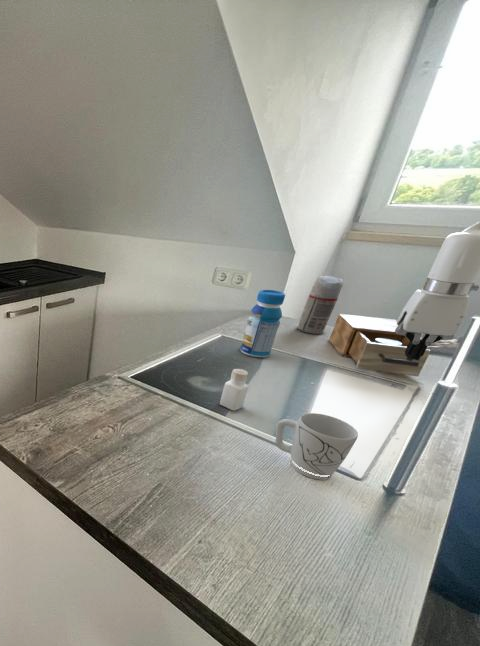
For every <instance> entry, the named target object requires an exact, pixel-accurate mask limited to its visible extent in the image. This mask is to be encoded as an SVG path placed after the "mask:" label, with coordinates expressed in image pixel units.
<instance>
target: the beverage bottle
mask: <svg viewBox="0 0 480 646" xmlns="http://www.w3.org/2000/svg"><path fill="white" fill-rule="evenodd" d="M285 297H286V293H285V292H283V291H280V290H274V289H260V290H259V291H258V293H257V297H256V302H257V303H256V304H255V305H254V306H253V307H252V309H251V310H250V316H249V317H248V318H247V321H246V322H247V323H246V327H245V332H244V336H243V339H242V342H241V345H240V352H241V353H243V354H244V355H246V356H249V357H253V358H268V357H269V356H270V354H271V352H272V348H273V345H274V342H275V338H276V335H277V332H278V329H279V327H280V326H281V321H280V320H281V319H282V317H283V312H282V309H281V306H282V305H283V304H284V301H285Z"/></svg>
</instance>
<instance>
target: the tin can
mask: <svg viewBox="0 0 480 646" xmlns="http://www.w3.org/2000/svg"><path fill="white" fill-rule="evenodd" d="M374 343H382V344H390V345H398V346H401V345H402V343H401V342H399V341H396V340H393V339H388V338H376V339H375V342H374Z"/></svg>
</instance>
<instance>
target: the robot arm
mask: <svg viewBox="0 0 480 646" xmlns="http://www.w3.org/2000/svg"><path fill="white" fill-rule="evenodd" d="M479 273H480V220H479V221H477V222H476V223H474V224H472V225H470V226H468V227H467V228H465V229H464V230H463V231H461V232H454V233H451V234H449V235H448V236H446V237H445V239H444V241H443V242H442V244H441V247H440V249H439V250H438V253H437V256H436V257H435V260H434V262H433V264H432V266H431V268H430V270H429V273H428V275H427V277H426V278H425V281H424V284H423V285H422V288H421V289H416V290H415V291H414V292H413V294H412V295H411V296H410V297H409V299H408V301H407V302H406V303H405V305H404V307H403V308H402V310H401V312H400V314H399V315H398V318H397V319H396V320H397V325H398V327H397V328H396V329H395V332H396V333H397V334H400V335H403V336H406V337H407V339H408V340H409V341H410V342H409V344H408V346H407V348H406V350H405V355H406V356H407V357H408V358H409V359H412V360H413V359H415V360H419V359H420V357H421V356H423V355H424V353H425V351H426V349H428V347H430V346H432V345H433V344H435V343H438V342H439V341H451V340H453V339H454V338H455V335H456V334H457V333H458V331H459V330H460V328H461V326H462V324H463V322H464V319H465V317H466V315H467V312H468V309H469V305H470V299H471V298H470V297H471V296H470V295H469V294H470V292H472V291H474V292H476V291H478V290H479V289H480V285H479V284H475V281H476V279H477V277H478V275H479ZM422 334H423V335H422Z"/></svg>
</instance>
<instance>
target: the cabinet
mask: <svg viewBox="0 0 480 646" xmlns="http://www.w3.org/2000/svg"><path fill="white" fill-rule="evenodd" d="M397 320H398V319H392V318H384V317H373V316H364V315H363V316H362V315H354V314H344V313H339V314H338V316H337V318H336V322H335V324H334V326H333V329H332V332H331V334H330V337H329V342H330V343H331V345H332V346H333V347H334V348H335V350H336V351H337V352H338V353H339V354H340V356H342V357H346V358H347V357H348V358H352V357H351V355H350V354H349V353H348V352H347V350H348V347H349V345H350V342H351V340H352V337H353V335H354V332H355V330H359V331H368V332H377V333H385V334H394V335H400V334H397V333H396V332H395V329H396V328H397V327H398V325H397Z"/></svg>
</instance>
